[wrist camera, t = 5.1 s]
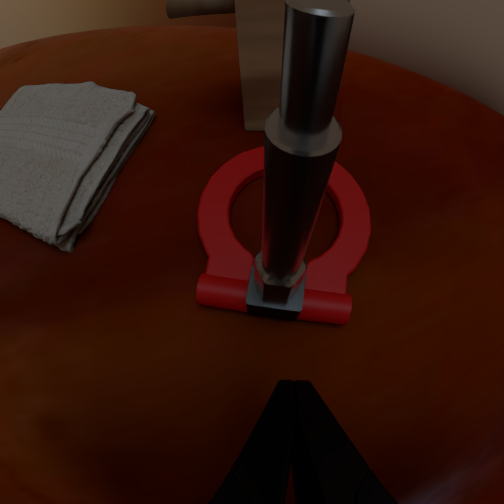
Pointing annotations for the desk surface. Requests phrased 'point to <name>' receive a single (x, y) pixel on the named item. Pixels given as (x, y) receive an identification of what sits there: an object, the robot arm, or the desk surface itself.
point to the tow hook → (291, 187)
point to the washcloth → (64, 155)
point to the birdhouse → (249, 49)
